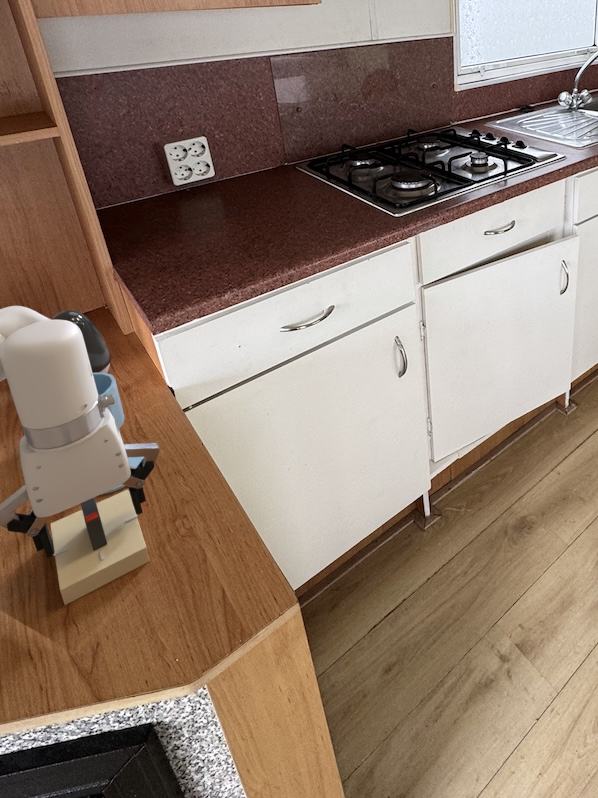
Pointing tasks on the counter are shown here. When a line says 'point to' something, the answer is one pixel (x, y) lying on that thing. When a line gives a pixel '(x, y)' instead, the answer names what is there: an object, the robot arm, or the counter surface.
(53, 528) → the beige switch box
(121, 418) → the pot
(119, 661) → the counter surface
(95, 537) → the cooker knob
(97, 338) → the glossy black egg dome
